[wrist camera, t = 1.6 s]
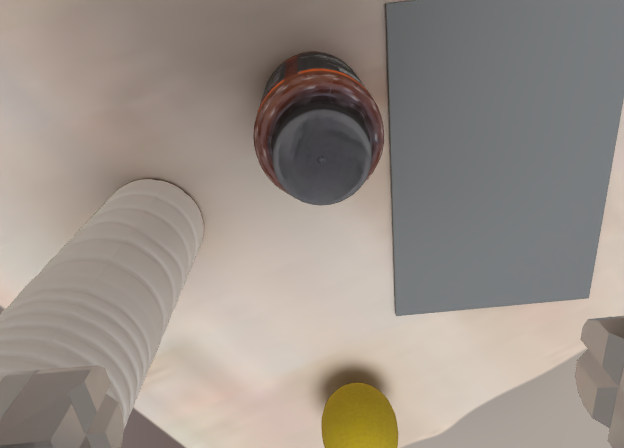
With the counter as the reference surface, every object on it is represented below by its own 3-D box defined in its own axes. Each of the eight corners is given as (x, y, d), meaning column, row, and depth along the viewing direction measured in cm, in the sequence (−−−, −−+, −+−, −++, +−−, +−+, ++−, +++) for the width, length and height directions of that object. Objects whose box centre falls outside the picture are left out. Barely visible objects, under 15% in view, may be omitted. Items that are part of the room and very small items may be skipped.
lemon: (364, 421, 41) (378, 513, 33) (307, 398, 39) (308, 488, 32) (401, 377, 39) (424, 465, 31) (342, 351, 37) (351, 436, 30)
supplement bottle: (265, 149, 30) (247, 228, 20) (262, 49, 28) (239, 81, 18) (360, 150, 31) (389, 228, 20) (366, 50, 28) (402, 82, 18)
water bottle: (224, 222, 33) (47, 741, 10) (165, 281, 34) (-99, 829, 12) (117, 132, 30) (-468, 565, 7) (58, 201, 32) (-551, 716, 9)
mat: (385, 3, 27) (386, 3, 27) (640, -25, 27) (644, -25, 26) (395, 312, 36) (396, 316, 36) (585, 295, 36) (588, 298, 35)
